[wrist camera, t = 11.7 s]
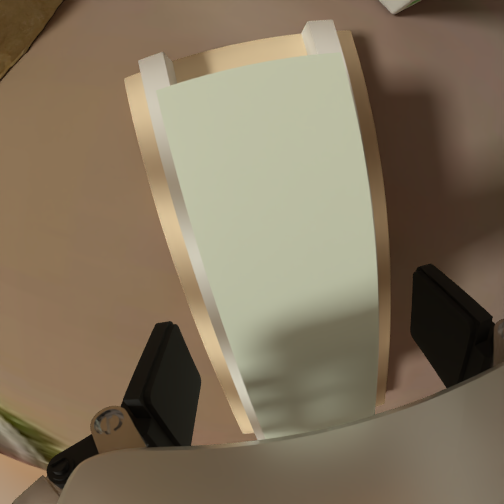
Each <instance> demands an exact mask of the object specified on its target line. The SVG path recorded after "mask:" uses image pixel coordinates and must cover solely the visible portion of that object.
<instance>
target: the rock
mask: <svg viewBox="0 0 504 504" xmlns="http://www.w3.org/2000/svg"><path fill="white" fill-rule="evenodd" d="M62 1H63V0H0V79H1V78H2V77H3V76H4V75H5V73H6V72H7V71H8V69H9V68H10V67H12V66H13V65H14V64H15V63H16V62H17V61H18V60H19V58H20V57H21V56H22V55H23V54H25V53H26V52H27V50H28V48H29V47H30V45H31V43H32V42H33V41H34V39H35V38H36V37H37V36H38V34H39V33H40V32H41V31H42V30H43V28H44V27H45V25H46V23H47V22H48V20H49V19H50V18H51V17H52V15H53V14H54V12H55V10H56V8H57V7H58V6H59V5H60V4H61V2H62Z"/></svg>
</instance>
